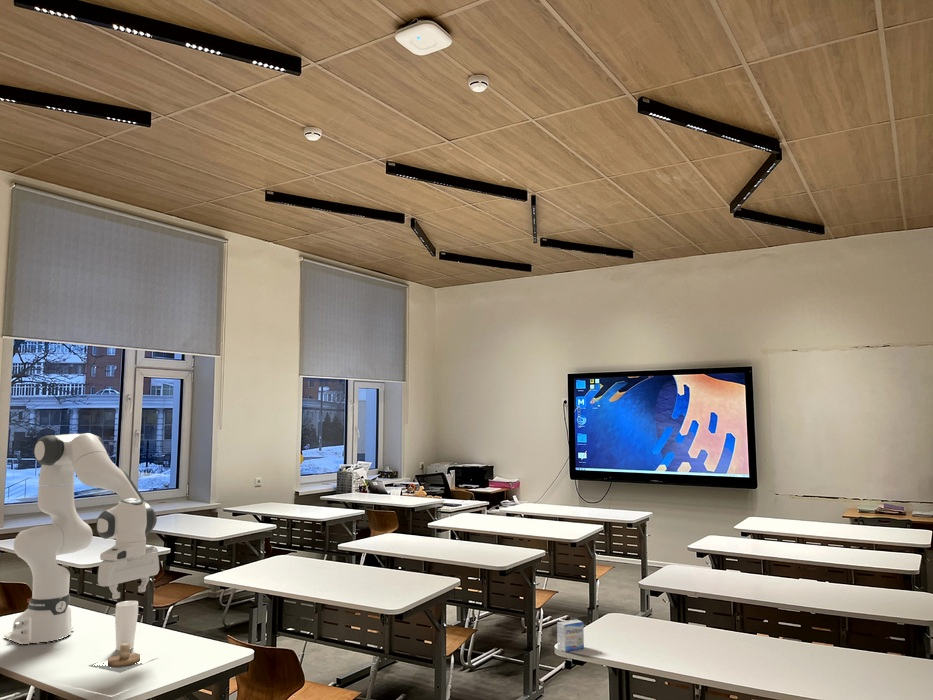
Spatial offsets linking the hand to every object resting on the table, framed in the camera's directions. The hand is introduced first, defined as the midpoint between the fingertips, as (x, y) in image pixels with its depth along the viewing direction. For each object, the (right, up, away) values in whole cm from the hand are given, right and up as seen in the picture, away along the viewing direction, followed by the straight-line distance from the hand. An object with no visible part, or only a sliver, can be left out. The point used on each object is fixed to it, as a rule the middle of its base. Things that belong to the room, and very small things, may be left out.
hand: (129, 595), depth 212 cm
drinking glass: (-6, -22, +10) cm, 25 cm away
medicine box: (+142, -22, +11) cm, 144 cm away
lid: (0, -20, -3) cm, 20 cm away
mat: (0, -20, -3) cm, 20 cm away
